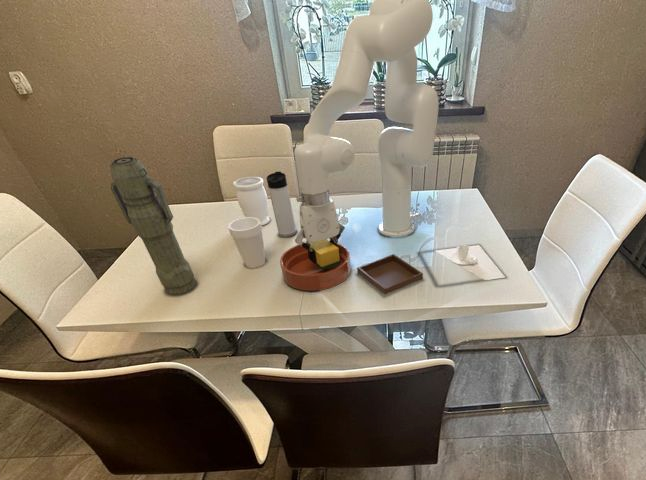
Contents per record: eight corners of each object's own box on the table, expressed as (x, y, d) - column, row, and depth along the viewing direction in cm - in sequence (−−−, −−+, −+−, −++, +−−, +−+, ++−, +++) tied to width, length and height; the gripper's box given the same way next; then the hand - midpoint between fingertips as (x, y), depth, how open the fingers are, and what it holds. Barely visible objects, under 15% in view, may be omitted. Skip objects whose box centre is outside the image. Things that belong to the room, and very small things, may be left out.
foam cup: (275, 257, 122) (266, 218, 113) (260, 272, 115) (249, 232, 106) (250, 254, 124) (239, 215, 115) (234, 268, 118) (221, 228, 109)
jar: (278, 219, 143) (269, 178, 133) (258, 230, 137) (248, 188, 127) (258, 214, 148) (248, 174, 138) (238, 224, 142) (226, 183, 131)
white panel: (480, 265, 112) (482, 253, 109) (455, 268, 111) (456, 256, 109) (470, 251, 119) (471, 239, 116) (445, 254, 118) (447, 242, 115)
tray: (393, 260, 117) (393, 253, 115) (422, 280, 108) (423, 273, 106) (357, 274, 112) (357, 267, 110) (384, 296, 103) (384, 289, 101)
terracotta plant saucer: (330, 250, 123) (328, 234, 120) (363, 276, 111) (362, 260, 107) (273, 270, 116) (269, 254, 112) (301, 300, 103) (298, 283, 99)
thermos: (198, 293, 108) (142, 163, 84) (156, 297, 108) (89, 168, 84) (205, 277, 115) (155, 152, 91) (166, 280, 114) (105, 156, 90)
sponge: (325, 252, 116) (323, 236, 112) (340, 263, 110) (338, 248, 107) (308, 257, 114) (305, 242, 110) (322, 270, 108) (319, 254, 105)
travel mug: (298, 229, 136) (287, 171, 123) (294, 237, 132) (282, 178, 118) (281, 229, 137) (269, 171, 123) (276, 237, 132) (263, 178, 119)
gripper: (291, 209, 94) (302, 272, 106) (350, 193, 100) (354, 254, 112) (279, 200, 98) (291, 262, 110) (336, 185, 105) (342, 245, 117)
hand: (323, 257), depth 111 cm, fingers closed on sponge, 6 cm apart
